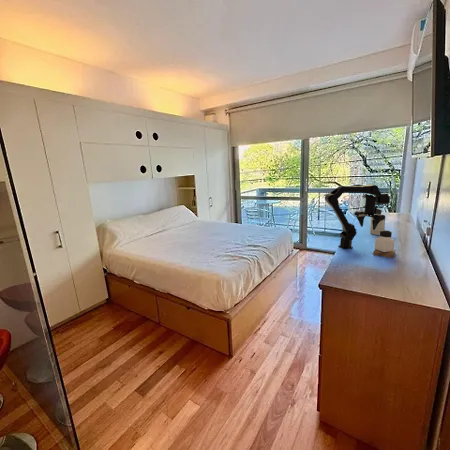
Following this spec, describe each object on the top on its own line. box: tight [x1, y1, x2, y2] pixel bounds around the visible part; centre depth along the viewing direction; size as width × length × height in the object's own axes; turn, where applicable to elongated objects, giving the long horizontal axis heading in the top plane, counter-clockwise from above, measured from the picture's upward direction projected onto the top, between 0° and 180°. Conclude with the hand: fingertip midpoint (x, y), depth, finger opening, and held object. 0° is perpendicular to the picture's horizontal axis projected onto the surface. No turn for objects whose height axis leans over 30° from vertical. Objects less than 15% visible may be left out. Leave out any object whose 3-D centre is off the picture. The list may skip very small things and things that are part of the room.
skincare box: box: [369, 217, 386, 236], centre depth 189 cm, size 8×6×15 cm
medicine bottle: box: [374, 229, 396, 252], centre depth 148 cm, size 7×7×12 cm
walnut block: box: [372, 249, 396, 259], centre depth 149 cm, size 10×10×3 cm
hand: (367, 228), depth 160 cm, fingers open, 9 cm apart
